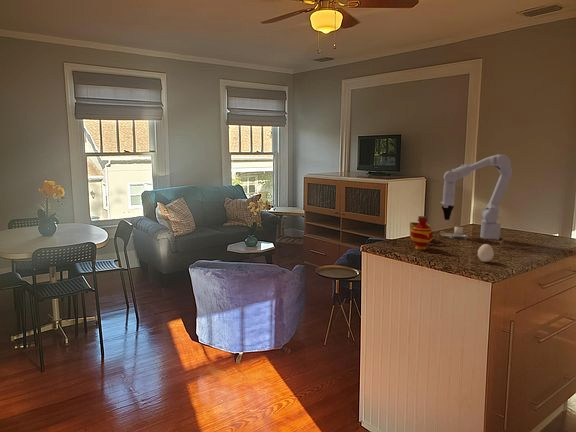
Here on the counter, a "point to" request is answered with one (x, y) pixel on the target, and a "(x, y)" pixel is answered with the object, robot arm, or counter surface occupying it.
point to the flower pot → (413, 224)
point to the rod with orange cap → (452, 234)
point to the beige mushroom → (458, 232)
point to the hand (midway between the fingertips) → (446, 219)
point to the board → (461, 239)
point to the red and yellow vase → (421, 233)
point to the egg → (485, 253)
